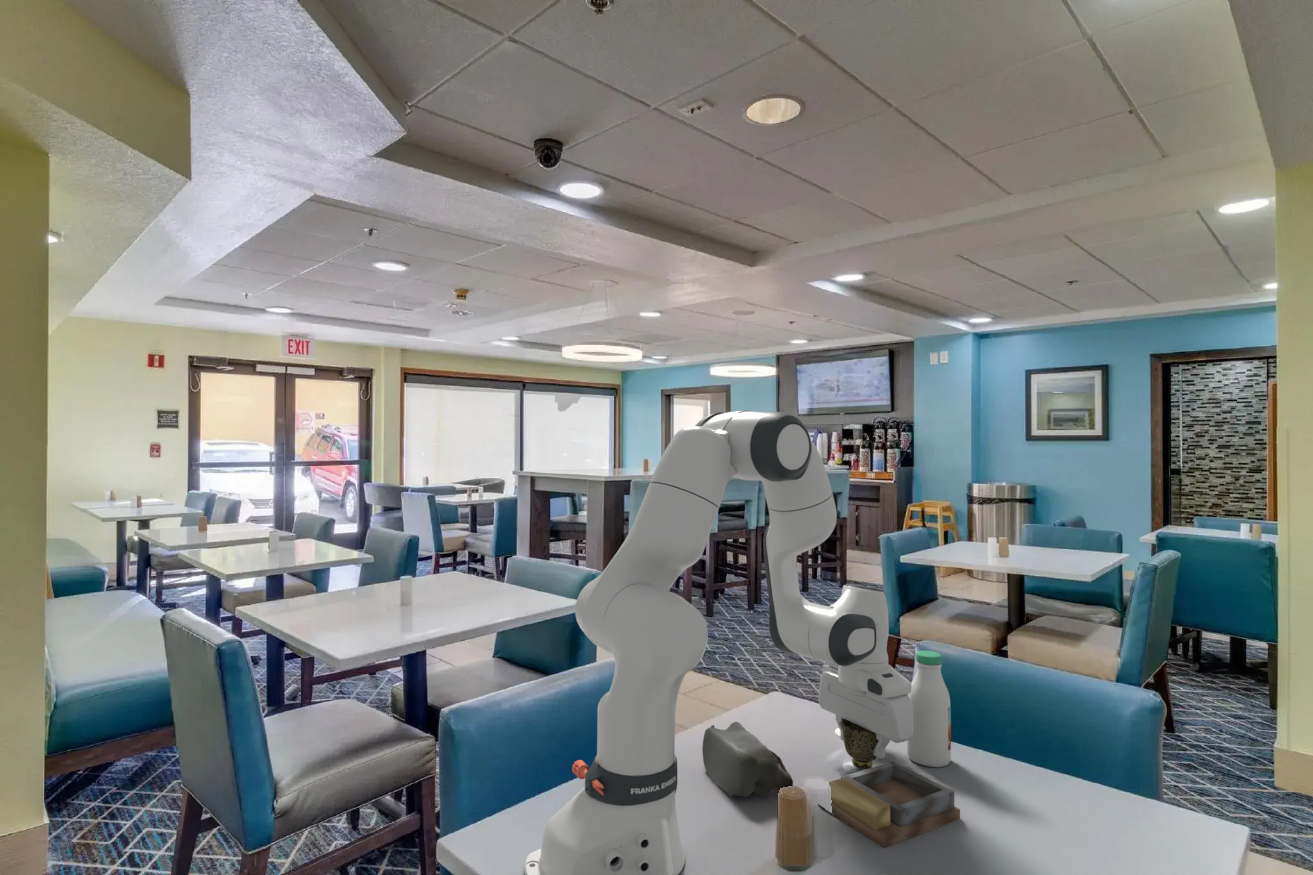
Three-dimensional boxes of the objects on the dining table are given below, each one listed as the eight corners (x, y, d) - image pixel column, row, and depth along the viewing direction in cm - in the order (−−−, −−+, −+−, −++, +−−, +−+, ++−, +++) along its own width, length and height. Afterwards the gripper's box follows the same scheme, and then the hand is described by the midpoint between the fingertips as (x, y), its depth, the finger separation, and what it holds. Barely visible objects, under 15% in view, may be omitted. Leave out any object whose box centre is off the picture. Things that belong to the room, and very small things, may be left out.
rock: (803, 800, 117) (803, 752, 117) (743, 812, 112) (743, 763, 113) (749, 755, 134) (749, 714, 134) (696, 765, 130) (696, 722, 130)
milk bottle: (944, 772, 127) (944, 661, 127) (901, 760, 132) (901, 654, 132) (955, 757, 133) (955, 652, 133) (914, 747, 138) (914, 645, 138)
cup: (885, 778, 123) (886, 732, 124) (842, 773, 125) (843, 728, 125) (881, 760, 131) (881, 717, 131) (840, 755, 132) (840, 713, 132)
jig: (884, 847, 103) (884, 816, 103) (818, 805, 115) (818, 777, 115) (959, 818, 111) (960, 790, 111) (890, 781, 123) (891, 756, 123)
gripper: (811, 659, 136) (810, 731, 136) (894, 691, 118) (893, 774, 118) (835, 655, 139) (834, 725, 139) (919, 686, 121) (918, 766, 121)
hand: (862, 748), depth 128 cm, fingers closed on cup, 6 cm apart
